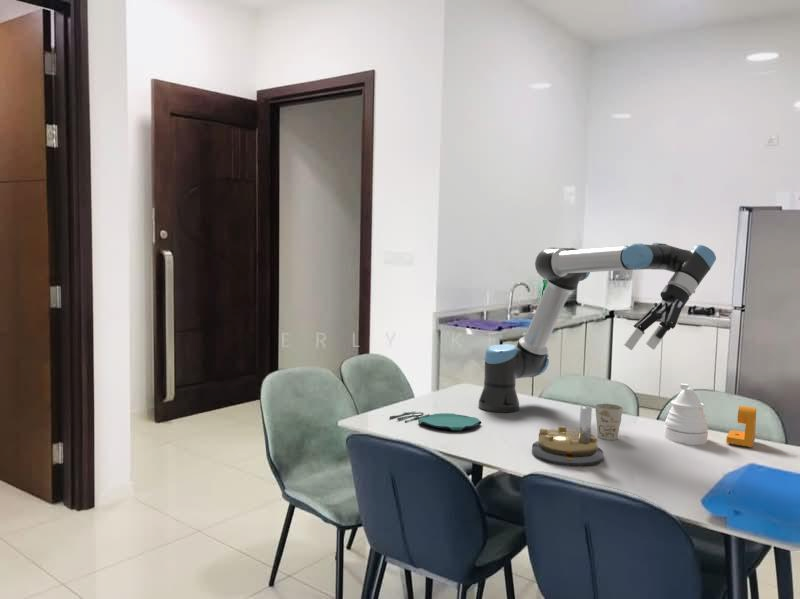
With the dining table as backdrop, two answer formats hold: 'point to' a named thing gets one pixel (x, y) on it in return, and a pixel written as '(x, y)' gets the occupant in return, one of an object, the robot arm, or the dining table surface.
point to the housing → (567, 457)
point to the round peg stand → (570, 438)
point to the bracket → (745, 438)
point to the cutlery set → (443, 420)
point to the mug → (608, 420)
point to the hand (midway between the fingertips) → (638, 347)
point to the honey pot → (686, 419)
